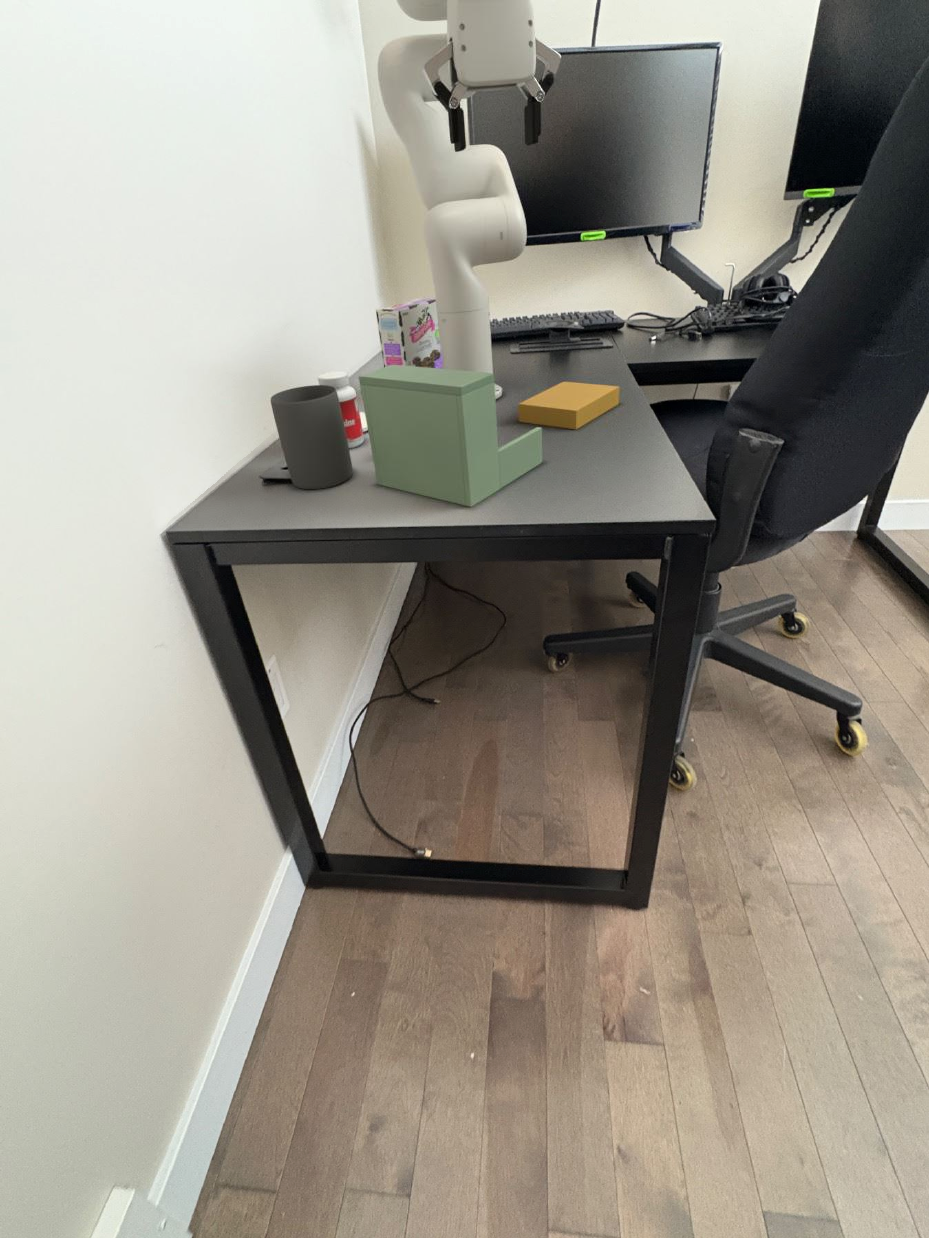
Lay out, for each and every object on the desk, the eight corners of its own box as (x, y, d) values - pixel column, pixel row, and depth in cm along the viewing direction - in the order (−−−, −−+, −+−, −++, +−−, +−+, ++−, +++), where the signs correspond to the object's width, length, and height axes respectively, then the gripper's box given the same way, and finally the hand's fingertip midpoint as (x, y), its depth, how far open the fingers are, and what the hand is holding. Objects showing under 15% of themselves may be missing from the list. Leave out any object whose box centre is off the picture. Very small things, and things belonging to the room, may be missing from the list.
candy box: (410, 401, 119) (398, 309, 109) (387, 399, 122) (373, 309, 112) (448, 383, 128) (440, 297, 119) (426, 382, 131) (416, 297, 122)
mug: (366, 474, 88) (350, 389, 81) (313, 495, 83) (291, 406, 76) (315, 457, 96) (297, 378, 89) (265, 475, 91) (241, 393, 84)
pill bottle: (325, 452, 98) (309, 381, 91) (330, 440, 103) (316, 372, 96) (362, 448, 97) (349, 377, 91) (366, 436, 103) (354, 368, 96)
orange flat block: (563, 398, 111) (563, 381, 109) (618, 404, 105) (619, 386, 103) (518, 421, 102) (518, 403, 100) (576, 429, 96) (576, 410, 94)
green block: (452, 446, 94) (442, 347, 86) (542, 462, 85) (541, 353, 77) (377, 484, 84) (358, 376, 76) (471, 507, 75) (460, 387, 67)
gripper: (547, -36, 72) (548, 145, 82) (406, -31, 69) (425, 156, 79) (572, -60, 66) (570, 138, 76) (419, -55, 63) (437, 150, 73)
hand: (496, 147), depth 77 cm, fingers open, 9 cm apart
